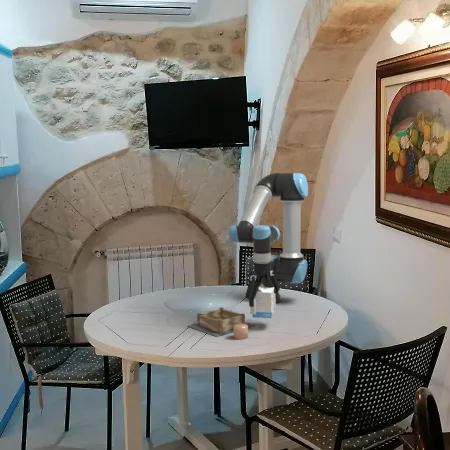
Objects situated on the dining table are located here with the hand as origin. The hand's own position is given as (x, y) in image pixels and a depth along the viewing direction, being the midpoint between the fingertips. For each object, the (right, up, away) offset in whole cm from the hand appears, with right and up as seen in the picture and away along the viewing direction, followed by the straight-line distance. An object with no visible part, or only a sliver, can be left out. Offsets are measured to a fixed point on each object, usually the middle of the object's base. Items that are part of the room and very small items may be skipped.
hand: (263, 310), depth 264 cm
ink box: (0, -2, 0) cm, 2 cm away
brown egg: (-10, -9, -12) cm, 19 cm away
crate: (-18, -7, +3) cm, 20 cm away
